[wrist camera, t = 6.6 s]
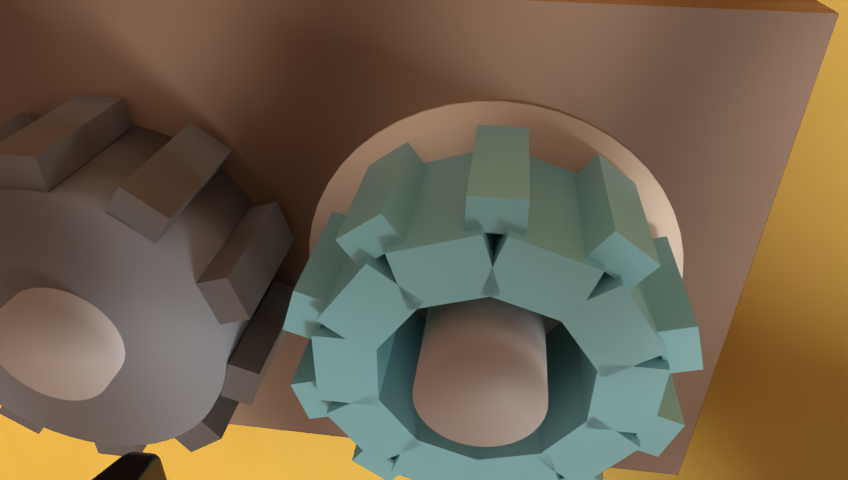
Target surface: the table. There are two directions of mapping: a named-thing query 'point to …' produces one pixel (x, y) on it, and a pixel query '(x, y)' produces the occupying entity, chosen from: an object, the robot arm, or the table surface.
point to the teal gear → (505, 280)
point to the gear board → (349, 187)
